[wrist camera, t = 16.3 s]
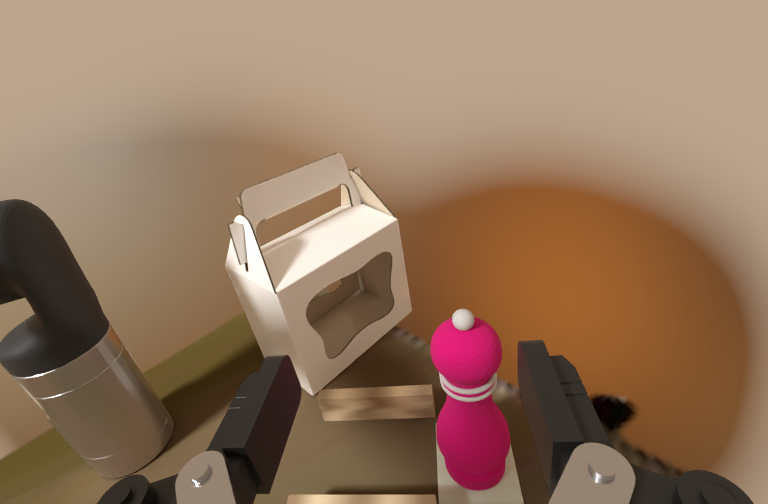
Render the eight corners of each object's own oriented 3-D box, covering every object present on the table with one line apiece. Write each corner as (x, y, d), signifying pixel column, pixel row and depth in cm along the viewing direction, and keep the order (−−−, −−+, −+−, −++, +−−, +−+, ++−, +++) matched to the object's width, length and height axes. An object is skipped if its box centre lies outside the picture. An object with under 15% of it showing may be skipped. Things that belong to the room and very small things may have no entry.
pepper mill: (456, 507, 36) (436, 354, 27) (430, 442, 42) (407, 299, 33) (524, 482, 37) (528, 325, 28) (489, 422, 43) (483, 277, 34)
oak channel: (296, 533, 37) (284, 511, 35) (327, 411, 49) (319, 389, 47) (440, 536, 34) (435, 512, 33) (435, 407, 47) (431, 384, 45)
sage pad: (439, 506, 37) (438, 505, 37) (435, 424, 44) (435, 423, 44) (524, 506, 35) (524, 505, 35) (505, 422, 43) (505, 421, 43)
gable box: (361, 288, 73) (327, 144, 60) (414, 310, 64) (388, 147, 51) (262, 359, 60) (191, 193, 47) (312, 398, 51) (242, 209, 38)
